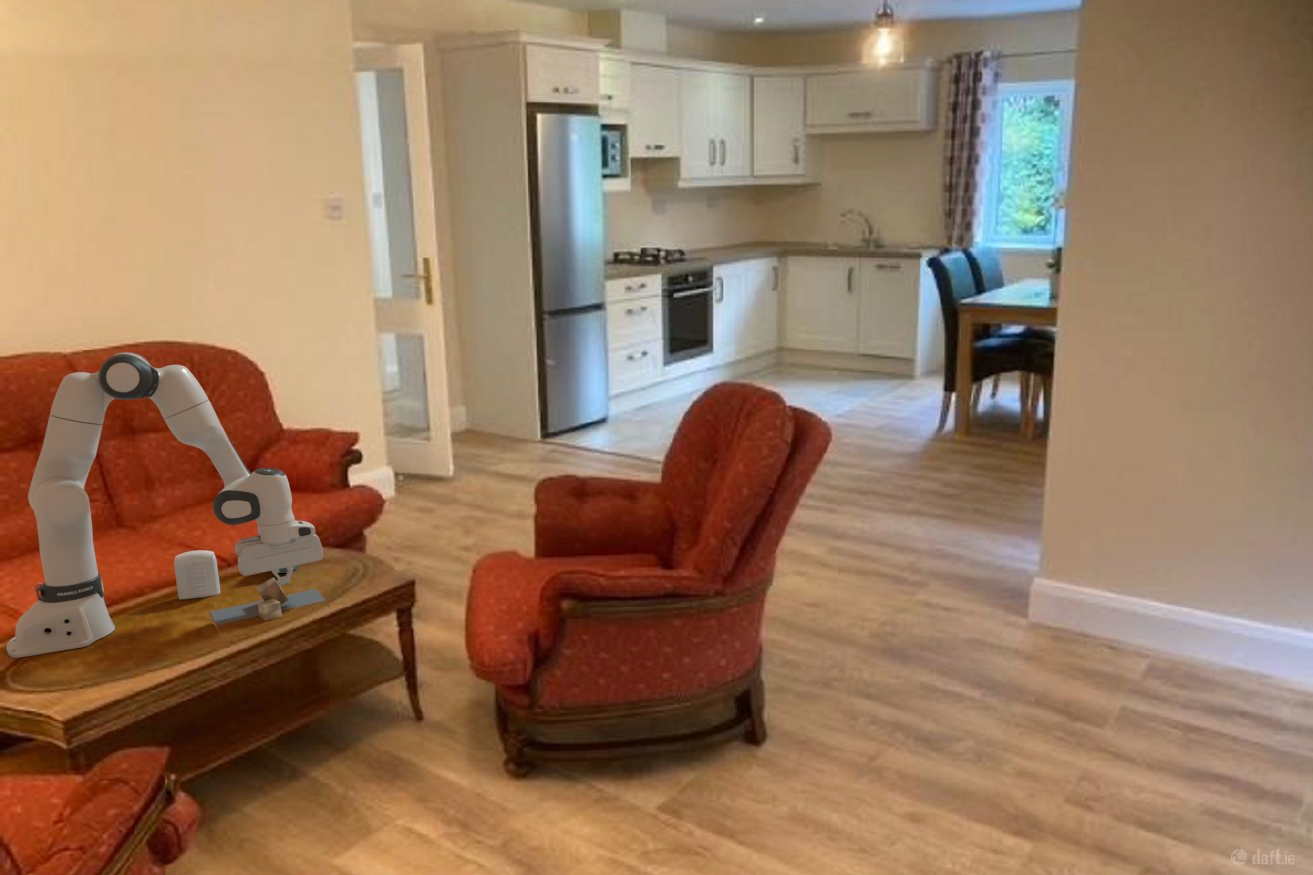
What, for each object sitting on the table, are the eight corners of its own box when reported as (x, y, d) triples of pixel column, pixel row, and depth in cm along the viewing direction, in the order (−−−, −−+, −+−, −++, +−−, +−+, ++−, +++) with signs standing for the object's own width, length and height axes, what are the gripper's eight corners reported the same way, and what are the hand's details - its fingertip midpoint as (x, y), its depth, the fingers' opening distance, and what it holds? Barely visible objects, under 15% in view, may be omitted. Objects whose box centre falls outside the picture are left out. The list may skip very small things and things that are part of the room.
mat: (217, 626, 248) (216, 625, 248) (209, 613, 257) (209, 611, 257) (326, 601, 261) (325, 600, 261) (315, 589, 270) (315, 588, 270)
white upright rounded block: (222, 590, 273) (215, 546, 271) (220, 595, 269) (213, 550, 267) (180, 596, 270) (173, 551, 268) (177, 601, 266) (170, 556, 264)
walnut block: (289, 600, 257) (271, 610, 255) (281, 591, 264) (264, 601, 262) (280, 585, 256) (262, 596, 254) (273, 577, 262) (255, 587, 260)
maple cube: (266, 622, 249) (263, 606, 248) (259, 618, 252) (257, 602, 251) (282, 617, 251) (280, 602, 251) (275, 613, 254) (273, 598, 254)
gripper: (236, 543, 249) (243, 597, 252) (321, 526, 260) (327, 578, 263) (231, 537, 255) (239, 590, 258) (315, 521, 265) (321, 572, 268)
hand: (284, 584), depth 260 cm, fingers closed
